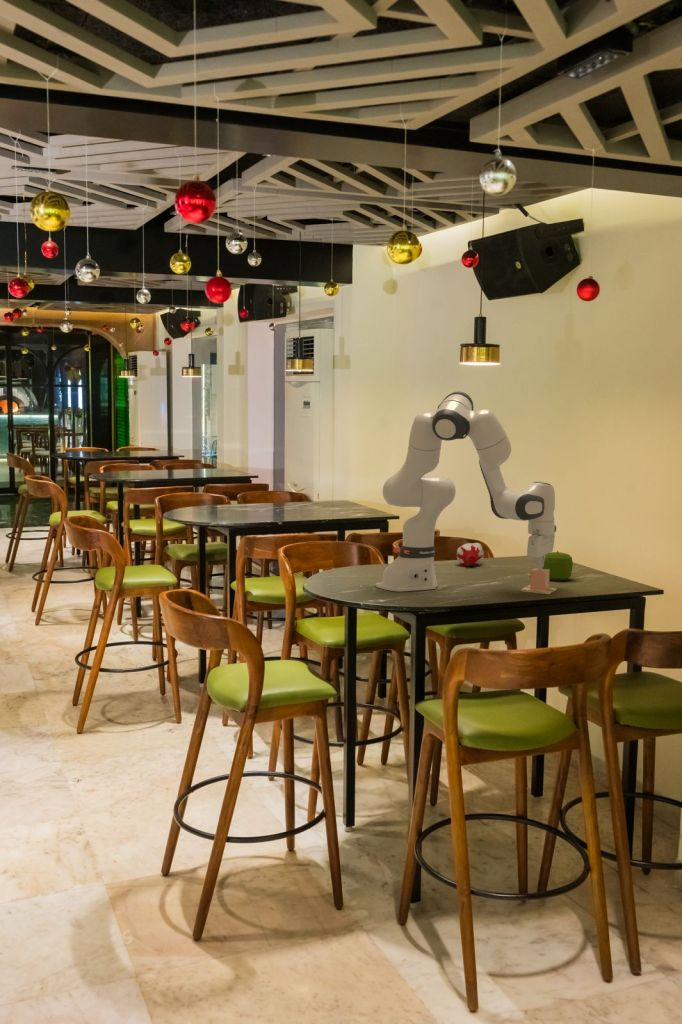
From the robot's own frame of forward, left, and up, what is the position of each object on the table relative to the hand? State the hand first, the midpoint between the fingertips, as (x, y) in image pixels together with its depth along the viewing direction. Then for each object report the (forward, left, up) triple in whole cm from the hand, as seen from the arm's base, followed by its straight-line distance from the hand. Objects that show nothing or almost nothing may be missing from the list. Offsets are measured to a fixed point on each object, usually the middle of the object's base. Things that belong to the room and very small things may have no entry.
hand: (539, 568), depth 318 cm
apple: (+22, +12, -8) cm, 26 cm away
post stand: (0, 0, -8) cm, 8 cm away
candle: (+16, +53, -8) cm, 56 cm away
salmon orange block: (0, 0, -7) cm, 7 cm away
